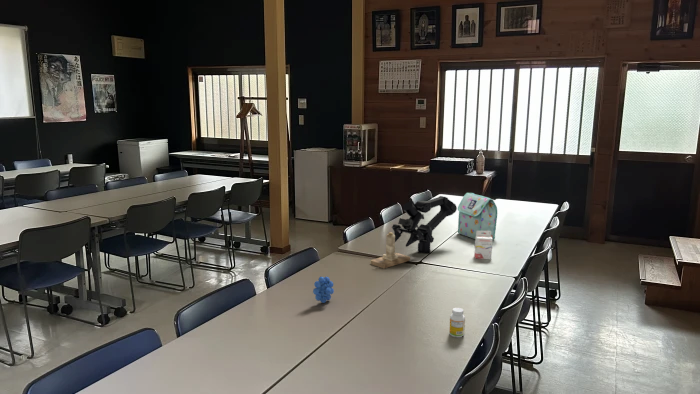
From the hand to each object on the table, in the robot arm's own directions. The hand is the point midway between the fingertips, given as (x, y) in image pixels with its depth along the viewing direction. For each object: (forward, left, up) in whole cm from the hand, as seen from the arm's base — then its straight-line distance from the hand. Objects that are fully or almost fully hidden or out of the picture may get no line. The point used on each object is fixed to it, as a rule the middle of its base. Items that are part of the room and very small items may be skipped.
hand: (399, 244), depth 272 cm
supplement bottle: (-32, +84, -9) cm, 90 cm away
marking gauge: (+4, +6, -6) cm, 10 cm away
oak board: (+4, +6, -8) cm, 11 cm away
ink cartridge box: (-44, -13, -9) cm, 47 cm away
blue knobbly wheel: (+23, +67, -9) cm, 71 cm away
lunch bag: (-41, -57, -9) cm, 71 cm away
